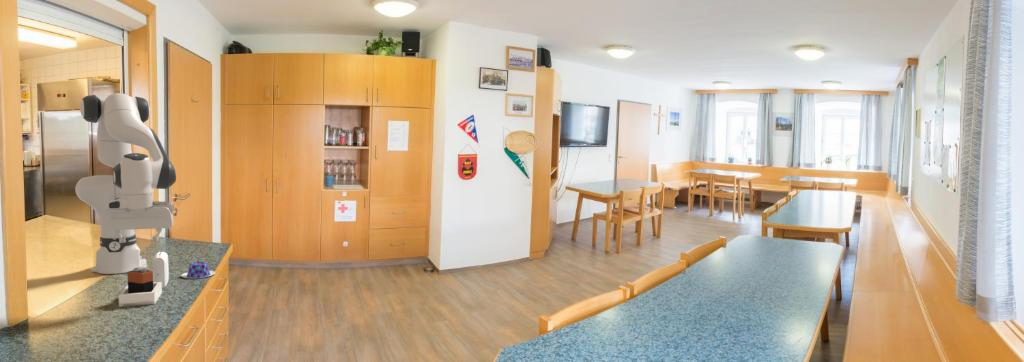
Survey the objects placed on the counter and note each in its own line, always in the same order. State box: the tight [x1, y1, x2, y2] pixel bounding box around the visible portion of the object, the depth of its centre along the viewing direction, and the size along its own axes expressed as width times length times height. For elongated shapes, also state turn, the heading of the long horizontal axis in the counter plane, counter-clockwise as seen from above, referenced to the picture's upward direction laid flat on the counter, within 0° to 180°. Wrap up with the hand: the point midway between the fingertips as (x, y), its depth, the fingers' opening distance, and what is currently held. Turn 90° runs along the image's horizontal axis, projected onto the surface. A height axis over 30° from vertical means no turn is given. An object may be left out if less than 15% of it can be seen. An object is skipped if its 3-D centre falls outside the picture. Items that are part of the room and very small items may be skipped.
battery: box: [126, 268, 153, 294], centre depth 187 cm, size 4×7×10 cm, turn 73°
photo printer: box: [152, 251, 170, 289], centre depth 205 cm, size 10×4×12 cm, turn 25°
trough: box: [118, 282, 163, 308], centre depth 187 cm, size 13×10×4 cm
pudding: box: [180, 261, 216, 279], centre depth 219 cm, size 12×12×5 cm
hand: (139, 241), depth 186 cm, fingers open, 8 cm apart
